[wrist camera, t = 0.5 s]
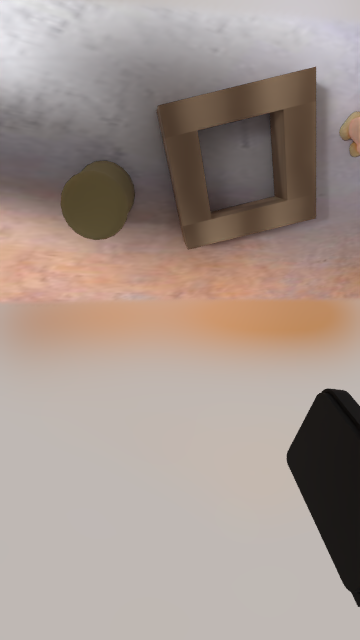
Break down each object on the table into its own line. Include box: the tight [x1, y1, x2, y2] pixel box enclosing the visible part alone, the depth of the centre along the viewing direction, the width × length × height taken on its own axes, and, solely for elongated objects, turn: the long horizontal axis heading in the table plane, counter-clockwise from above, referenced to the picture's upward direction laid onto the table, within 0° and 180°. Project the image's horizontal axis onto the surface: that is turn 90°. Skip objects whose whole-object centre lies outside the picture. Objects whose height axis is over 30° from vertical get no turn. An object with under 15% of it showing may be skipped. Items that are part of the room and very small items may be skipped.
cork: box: [61, 161, 135, 240], centre depth 28 cm, size 6×6×11 cm
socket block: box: [157, 67, 316, 249], centre depth 32 cm, size 14×13×4 cm
